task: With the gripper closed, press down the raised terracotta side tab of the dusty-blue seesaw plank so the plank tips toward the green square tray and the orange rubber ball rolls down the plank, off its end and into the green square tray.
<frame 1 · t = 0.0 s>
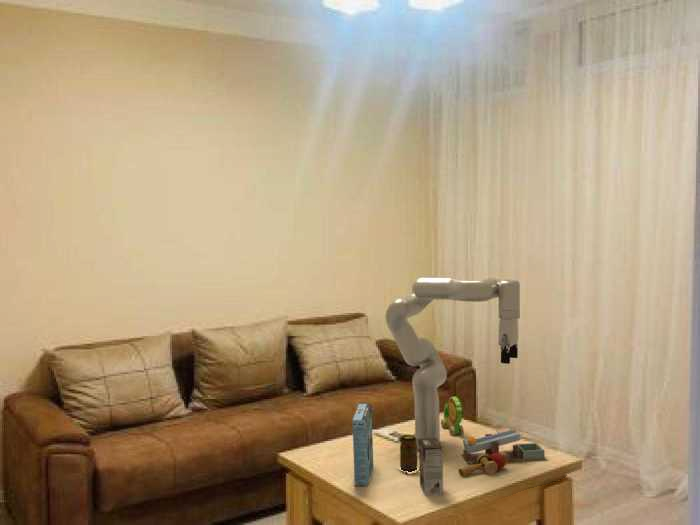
hand: (509, 360, 254), 37 cm above the table, tool pointing down, fingers open, 9 cm apart
stand: (492, 458, 259), on the table
toy lion: (453, 432, 290), on the table
lever: (488, 437, 261), point 7 cm above the table, hinge at -12.0°, touching ball
green square tray: (530, 456, 260), on the table
kendama: (482, 473, 246), on the table
condiment: (409, 470, 250), on the table
ball: (471, 441, 258), point 7 cm above the table, tilted 9°, touching lever
coffee box: (431, 489, 233), on the table
gum box: (364, 475, 246), on the table
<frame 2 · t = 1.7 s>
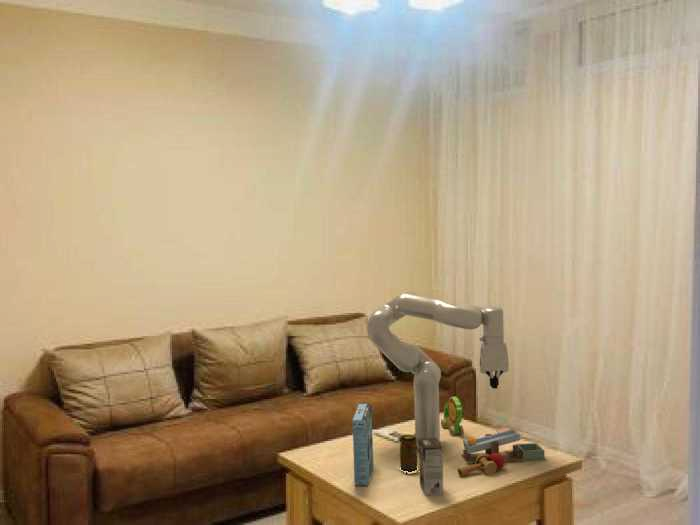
hand: (494, 387, 265), 25 cm above the table, tool pointing down, fingers closed
nothing on the table moved.
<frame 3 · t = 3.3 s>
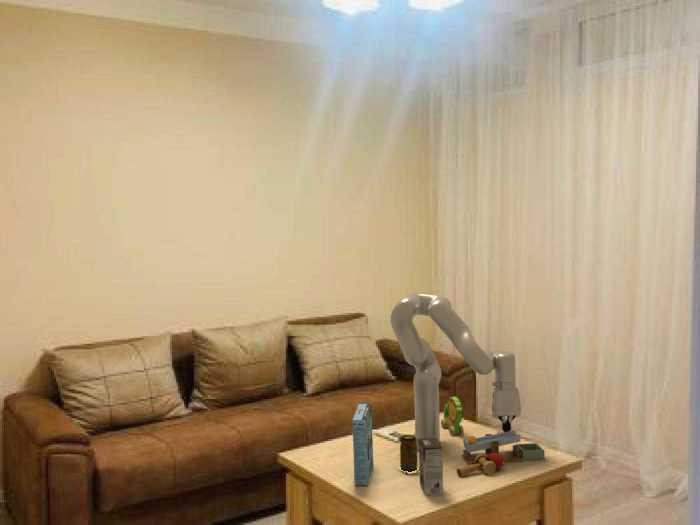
hand: (506, 432, 265), 8 cm above the table, tool pointing down, fingers closed
lever: (489, 437, 261), point 7 cm above the table, hinge at -8.6°, touching ball, gripper
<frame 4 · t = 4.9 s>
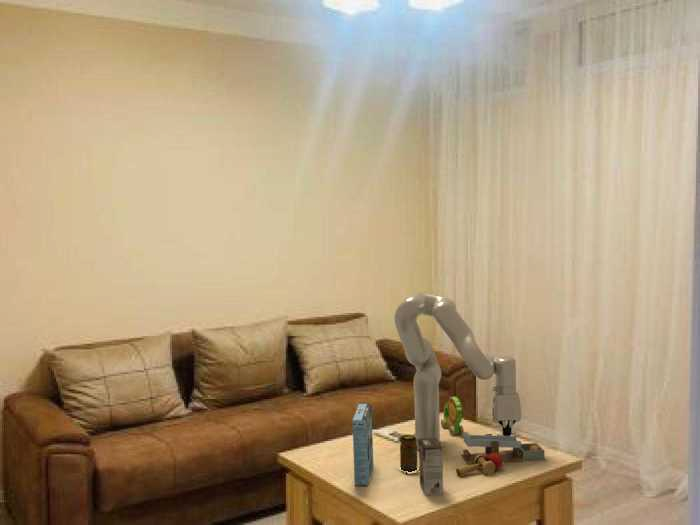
hand: (507, 436, 265), 6 cm above the table, tool pointing down, fingers closed
lever: (489, 437, 261), point 7 cm above the table, hinge at 4.7°, touching gripper
ball: (533, 450, 260), point 2 cm above the table, tilted 54°, touching green square tray
everything else where it was.
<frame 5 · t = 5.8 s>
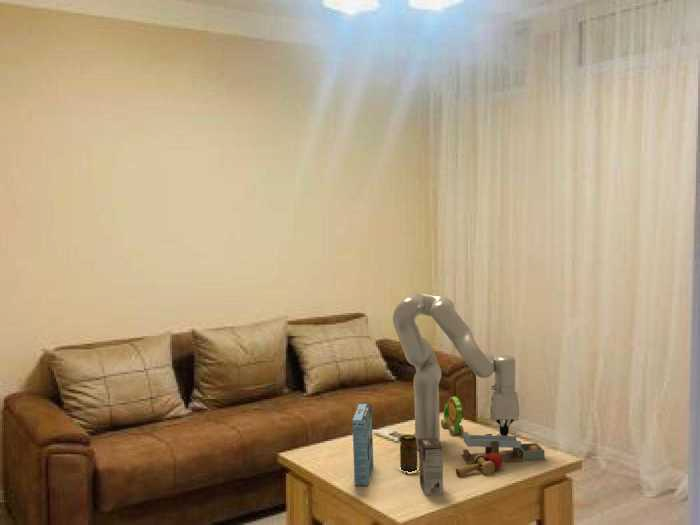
hand: (504, 435, 265), 6 cm above the table, tool pointing down, fingers closed
lever: (489, 437, 261), point 7 cm above the table, hinge at 4.8°
ball: (533, 450, 260), point 2 cm above the table, tilted 49°, touching green square tray
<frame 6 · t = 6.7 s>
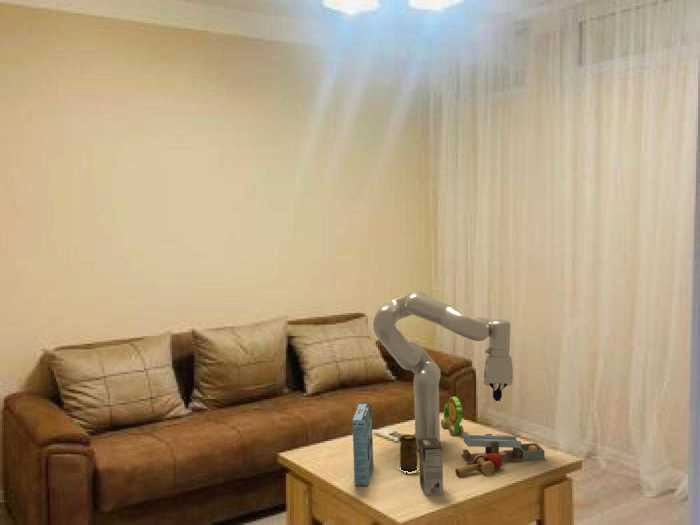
hand: (497, 399, 265), 20 cm above the table, tool pointing down, fingers closed
ball: (533, 450, 260), point 2 cm above the table, tilted 44°, touching green square tray
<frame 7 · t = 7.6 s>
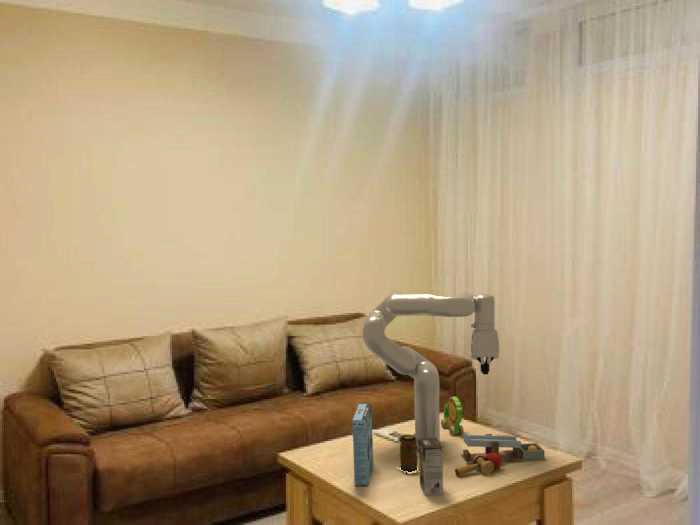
hand: (484, 373, 268), 29 cm above the table, tool pointing down, fingers closed
ball: (532, 450, 260), point 2 cm above the table, tilted 39°, touching green square tray
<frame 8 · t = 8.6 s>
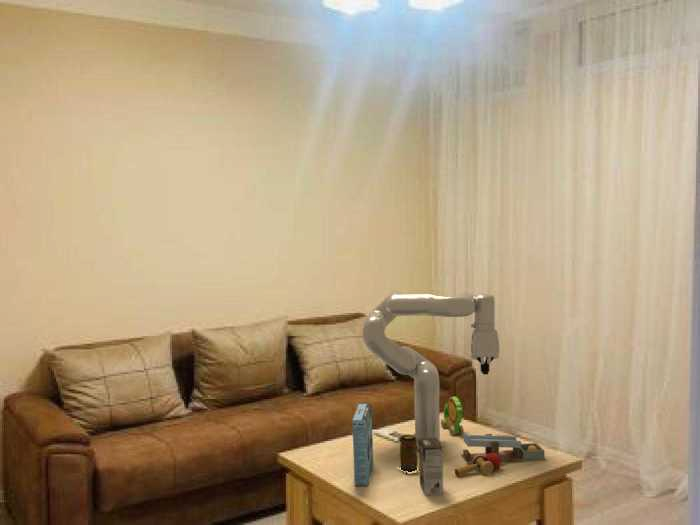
hand: (484, 373, 268), 29 cm above the table, tool pointing down, fingers closed
ball: (532, 450, 260), point 2 cm above the table, tilted 33°, touching green square tray
at the end: ball 0.9 cm off-centre on the green square tray, point 2.3 cm above the green square tray's base; lever at +5° (first picture: -12°) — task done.
